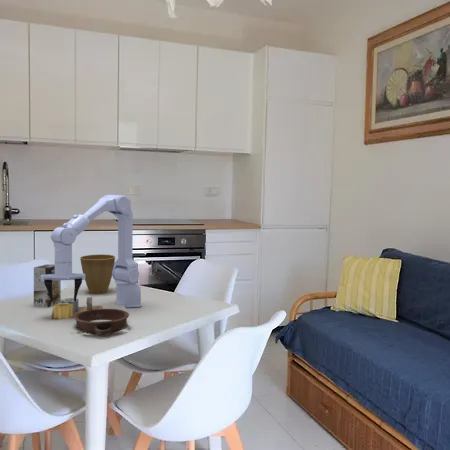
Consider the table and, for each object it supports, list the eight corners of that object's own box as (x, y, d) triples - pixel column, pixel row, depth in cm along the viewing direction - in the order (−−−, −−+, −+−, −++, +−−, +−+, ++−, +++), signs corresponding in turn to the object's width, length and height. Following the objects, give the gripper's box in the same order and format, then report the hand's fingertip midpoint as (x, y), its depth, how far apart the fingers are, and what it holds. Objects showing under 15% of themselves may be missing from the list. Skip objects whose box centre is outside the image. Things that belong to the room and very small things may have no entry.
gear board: (102, 308, 185) (102, 294, 185) (105, 319, 170) (105, 303, 170) (52, 311, 180) (52, 296, 179) (51, 322, 164) (51, 306, 164)
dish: (123, 318, 172) (123, 305, 172) (134, 336, 152) (134, 321, 152) (71, 322, 166) (71, 308, 166) (76, 341, 146) (76, 325, 145)
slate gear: (78, 308, 181) (78, 297, 180) (78, 312, 175) (78, 301, 174) (60, 309, 179) (60, 298, 178) (60, 313, 173) (60, 302, 173)
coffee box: (48, 310, 181) (48, 268, 179) (33, 309, 182) (32, 267, 181) (61, 305, 190) (61, 264, 188) (46, 304, 191) (46, 263, 190)
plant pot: (82, 289, 220) (82, 254, 218) (115, 288, 222) (115, 254, 221) (78, 296, 205) (78, 259, 204) (114, 295, 208) (114, 258, 207)
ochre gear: (72, 313, 173) (72, 302, 172) (73, 318, 167) (73, 306, 166) (54, 314, 171) (54, 303, 170) (54, 319, 165) (53, 307, 165)
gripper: (40, 264, 161) (40, 304, 162) (85, 263, 166) (85, 302, 167) (41, 261, 168) (41, 299, 169) (84, 260, 172) (84, 297, 173)
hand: (63, 300), depth 168 cm, fingers open, 7 cm apart
